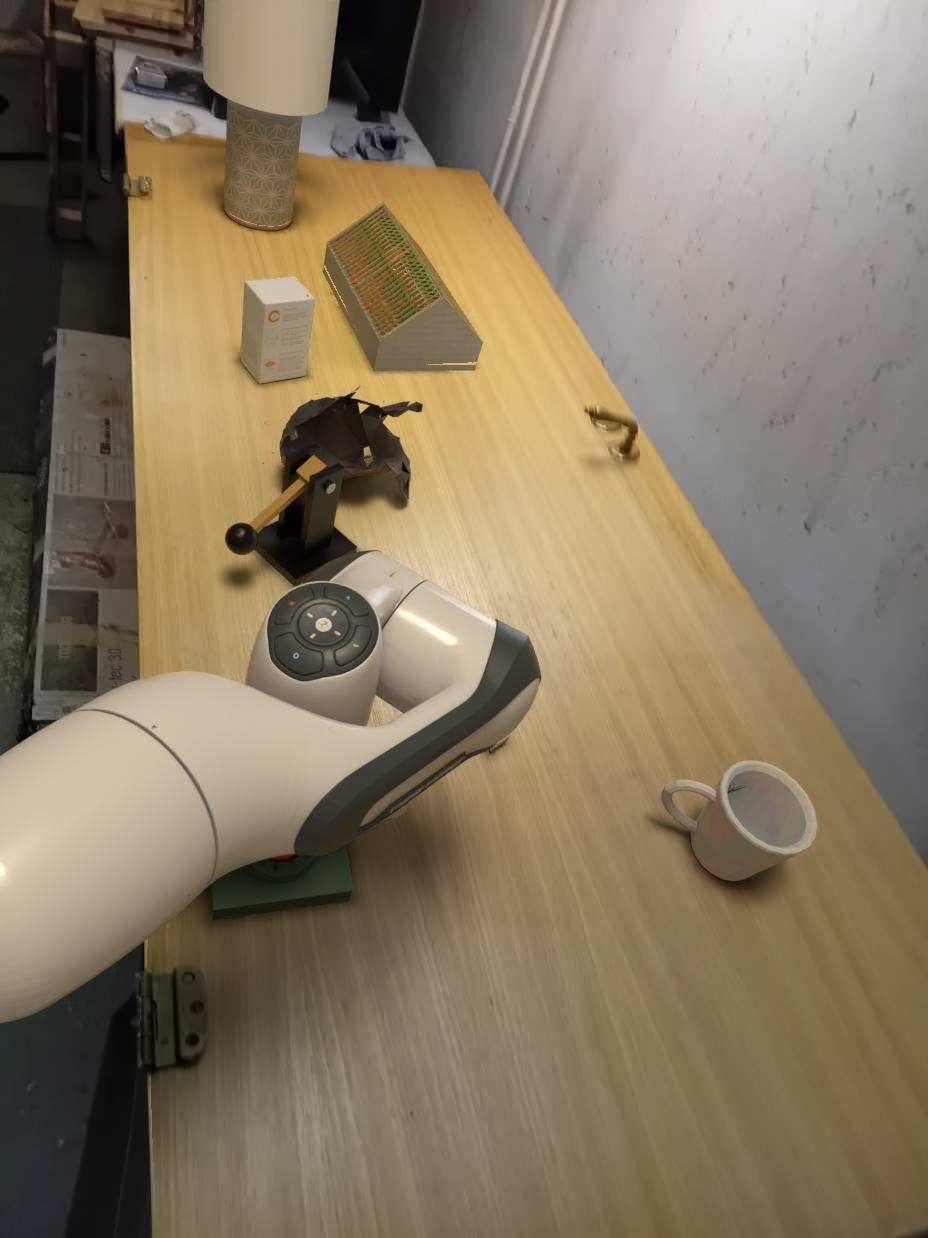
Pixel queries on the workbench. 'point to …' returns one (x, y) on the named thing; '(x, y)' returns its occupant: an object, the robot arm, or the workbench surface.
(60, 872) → the robot arm
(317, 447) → the black lever stand
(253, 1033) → the workbench surface
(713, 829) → the mug
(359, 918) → the workbench surface
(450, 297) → the grey sloped slatted box
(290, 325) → the small box
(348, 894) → the button box
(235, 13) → the lamp
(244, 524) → the lever
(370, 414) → the crumpled paper
